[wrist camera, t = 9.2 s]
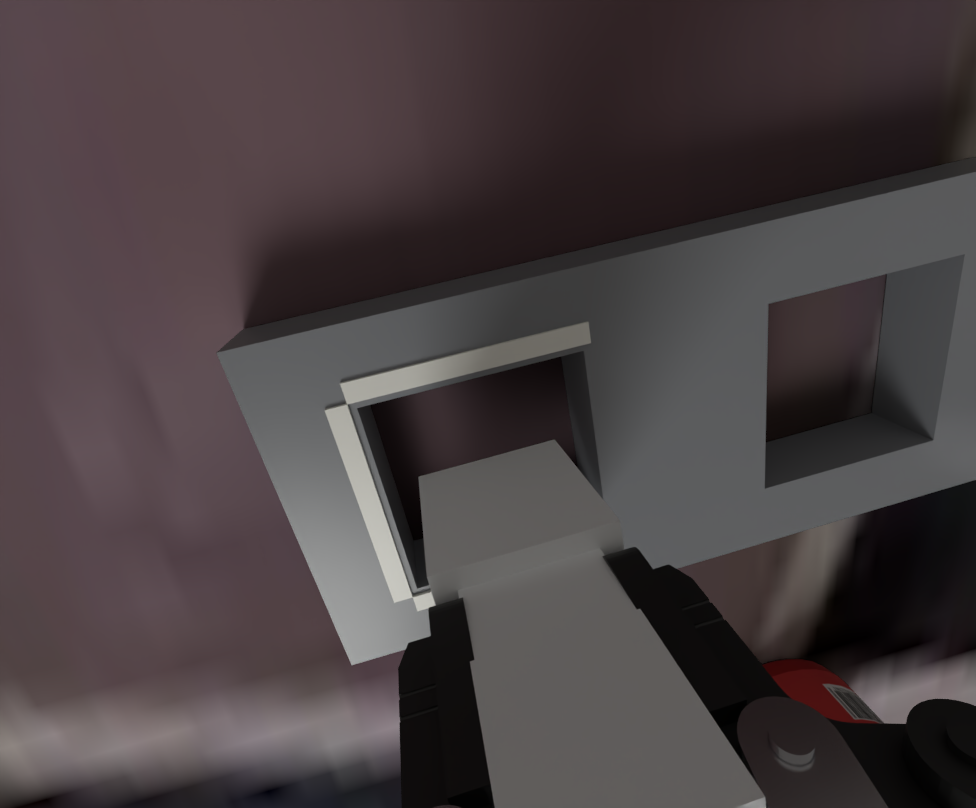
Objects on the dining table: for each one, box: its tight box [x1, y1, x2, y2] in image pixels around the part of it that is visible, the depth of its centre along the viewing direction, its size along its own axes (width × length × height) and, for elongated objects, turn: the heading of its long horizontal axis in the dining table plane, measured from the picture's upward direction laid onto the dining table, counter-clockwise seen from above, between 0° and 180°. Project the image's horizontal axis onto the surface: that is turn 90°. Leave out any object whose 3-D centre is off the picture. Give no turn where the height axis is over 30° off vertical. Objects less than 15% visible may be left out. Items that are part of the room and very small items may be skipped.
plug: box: [418, 439, 766, 808], centre depth 10 cm, size 4×4×10 cm
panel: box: [217, 157, 976, 665], centre depth 17 cm, size 24×11×3 cm, turn 101°
